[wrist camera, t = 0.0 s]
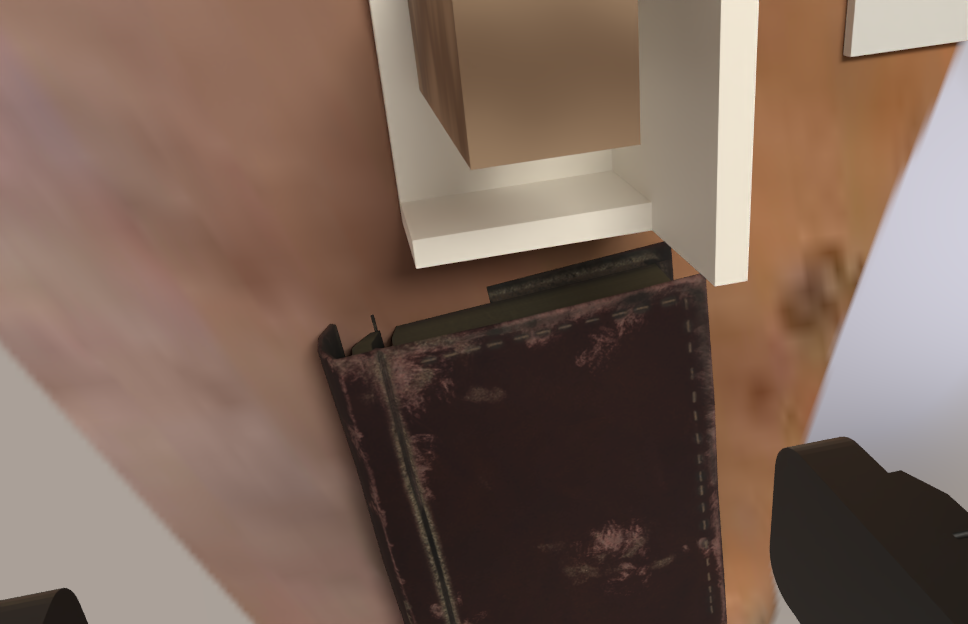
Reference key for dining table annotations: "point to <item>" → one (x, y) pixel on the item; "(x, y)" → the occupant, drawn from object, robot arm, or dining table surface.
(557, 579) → the diary
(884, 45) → the mat
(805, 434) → the dining table surface
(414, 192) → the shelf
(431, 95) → the block
